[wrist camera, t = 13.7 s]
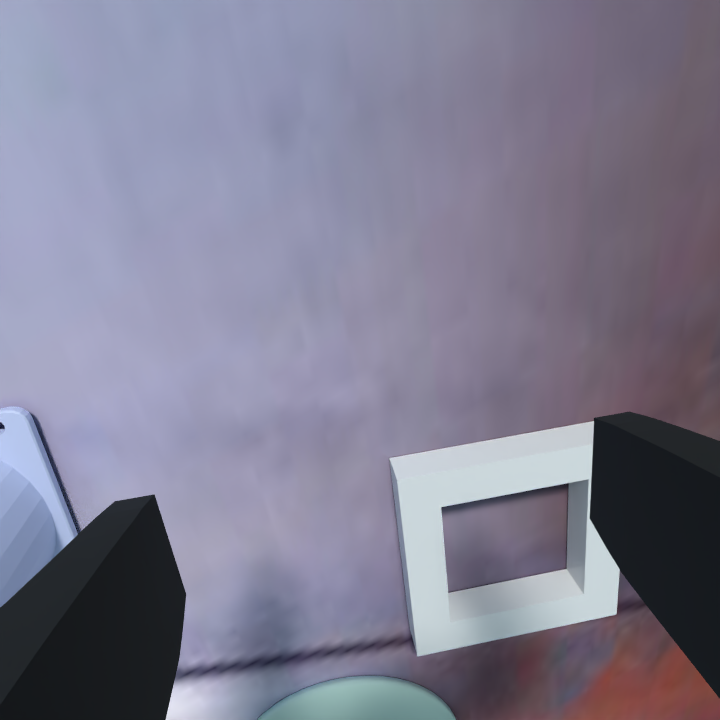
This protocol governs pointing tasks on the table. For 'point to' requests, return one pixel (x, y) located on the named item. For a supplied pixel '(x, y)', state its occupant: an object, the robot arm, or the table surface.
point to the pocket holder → (510, 598)
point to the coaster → (361, 701)
